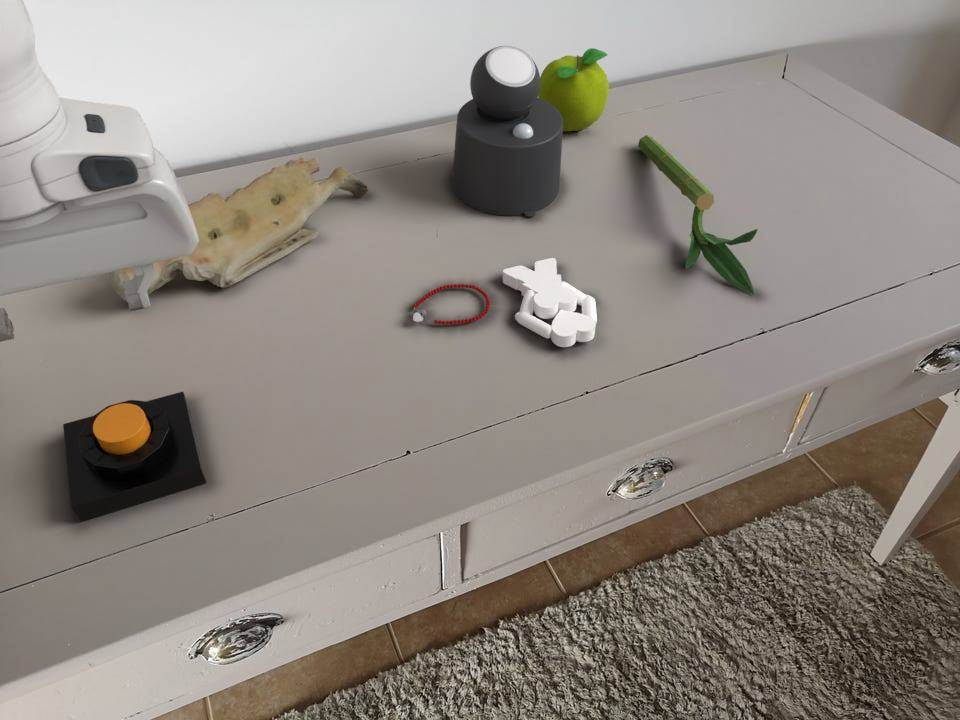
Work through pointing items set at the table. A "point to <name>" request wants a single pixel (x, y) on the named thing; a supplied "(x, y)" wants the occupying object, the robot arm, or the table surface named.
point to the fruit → (576, 88)
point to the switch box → (133, 461)
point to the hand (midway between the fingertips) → (73, 319)
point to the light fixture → (507, 138)
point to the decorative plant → (700, 218)
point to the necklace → (420, 314)
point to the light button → (122, 429)
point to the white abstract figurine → (552, 304)
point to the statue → (250, 225)
